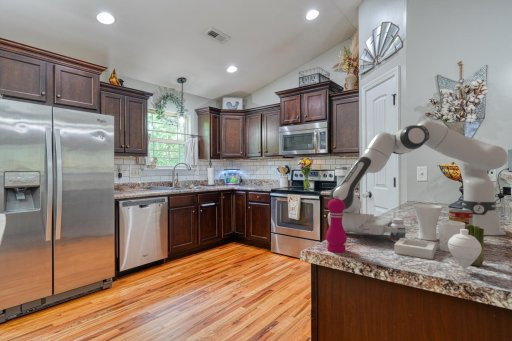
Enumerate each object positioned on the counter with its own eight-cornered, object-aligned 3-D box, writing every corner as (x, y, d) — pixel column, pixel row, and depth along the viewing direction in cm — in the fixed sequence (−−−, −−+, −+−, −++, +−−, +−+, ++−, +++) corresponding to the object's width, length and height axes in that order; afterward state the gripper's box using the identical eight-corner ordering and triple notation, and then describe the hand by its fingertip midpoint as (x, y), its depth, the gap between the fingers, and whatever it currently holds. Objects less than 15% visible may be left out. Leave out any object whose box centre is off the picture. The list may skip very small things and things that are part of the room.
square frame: (400, 245, 107) (400, 237, 107) (435, 251, 100) (435, 242, 100) (394, 253, 98) (394, 244, 98) (432, 259, 91) (432, 249, 91)
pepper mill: (348, 253, 98) (347, 195, 98) (326, 252, 99) (326, 195, 99) (345, 247, 105) (345, 193, 105) (325, 246, 106) (325, 193, 106)
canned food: (449, 236, 121) (449, 208, 120) (472, 239, 116) (472, 210, 116) (448, 240, 114) (448, 211, 114) (473, 243, 110) (473, 212, 110)
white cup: (457, 255, 96) (457, 225, 96) (433, 249, 103) (433, 221, 103) (470, 251, 100) (470, 223, 99) (446, 246, 107) (446, 219, 106)
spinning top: (452, 274, 78) (452, 231, 78) (444, 265, 85) (444, 225, 85) (486, 278, 76) (486, 233, 75) (475, 268, 83) (475, 227, 83)
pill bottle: (388, 239, 117) (388, 217, 117) (400, 239, 117) (400, 217, 117) (395, 242, 112) (395, 220, 112) (408, 242, 112) (408, 219, 112)
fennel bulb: (486, 268, 83) (487, 227, 83) (466, 266, 85) (466, 226, 85) (480, 262, 88) (480, 223, 88) (461, 260, 90) (461, 222, 90)
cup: (448, 240, 115) (448, 207, 114) (429, 242, 111) (429, 208, 111) (425, 234, 124) (425, 203, 124) (407, 236, 121) (407, 205, 121)
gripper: (357, 220, 114) (394, 224, 106) (371, 213, 130) (405, 216, 122) (357, 236, 114) (394, 241, 106) (371, 227, 130) (405, 231, 122)
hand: (400, 228), depth 114 cm, fingers open, 8 cm apart
